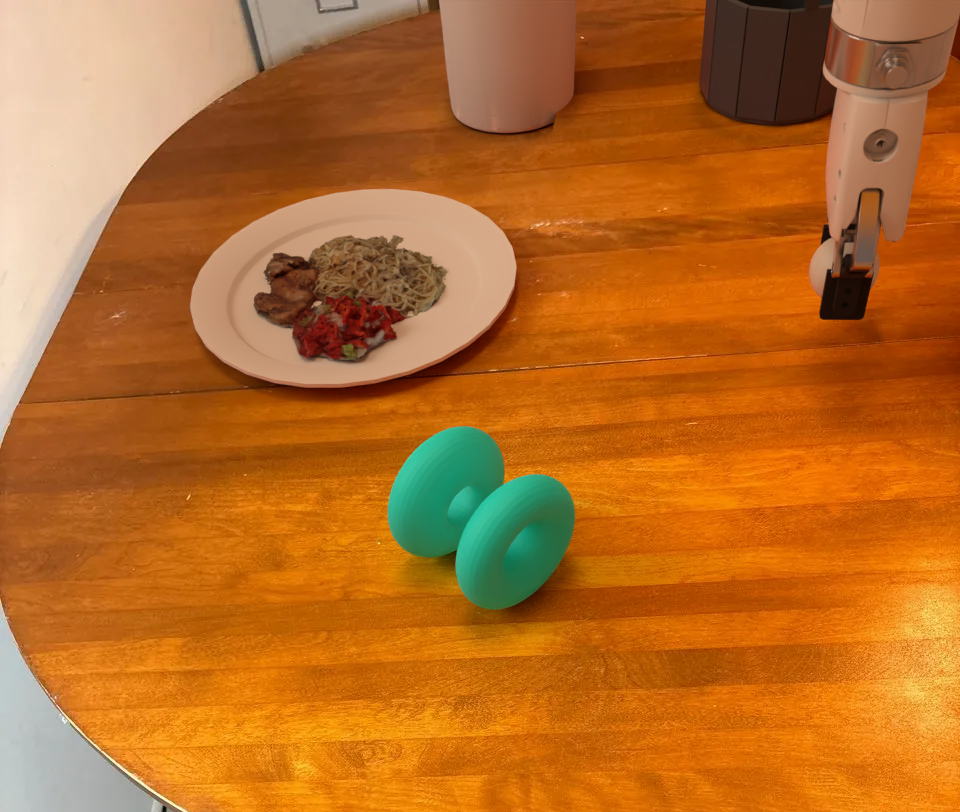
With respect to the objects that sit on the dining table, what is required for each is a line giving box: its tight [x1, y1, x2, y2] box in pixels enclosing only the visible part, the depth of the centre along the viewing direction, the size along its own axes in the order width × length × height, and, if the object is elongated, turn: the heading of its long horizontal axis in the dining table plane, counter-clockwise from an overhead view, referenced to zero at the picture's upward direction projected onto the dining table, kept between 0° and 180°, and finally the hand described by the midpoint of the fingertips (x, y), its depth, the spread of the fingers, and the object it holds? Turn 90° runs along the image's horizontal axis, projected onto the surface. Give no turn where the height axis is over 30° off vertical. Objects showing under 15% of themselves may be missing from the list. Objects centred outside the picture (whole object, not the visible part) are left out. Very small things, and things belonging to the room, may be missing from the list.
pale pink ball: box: [808, 237, 880, 299], centre depth 79 cm, size 5×5×5 cm
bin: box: [698, 0, 837, 126], centre depth 107 cm, size 15×15×14 cm
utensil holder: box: [438, 0, 577, 134], centre depth 111 cm, size 15×15×18 cm
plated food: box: [189, 188, 518, 389], centre depth 97 cm, size 30×30×3 cm
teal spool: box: [387, 425, 576, 611], centre depth 73 cm, size 10×10×10 cm
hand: (839, 292), depth 81 cm, fingers closed on pale pink ball, 4 cm apart
